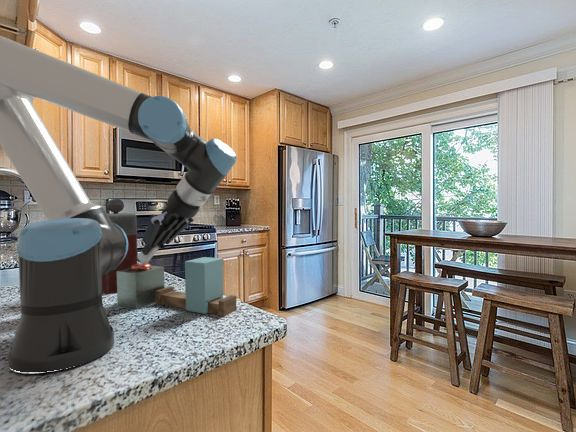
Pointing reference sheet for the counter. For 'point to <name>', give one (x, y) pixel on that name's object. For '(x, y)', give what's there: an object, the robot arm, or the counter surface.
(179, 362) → the counter surface
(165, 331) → the counter surface
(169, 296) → the rail
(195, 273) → the carriage
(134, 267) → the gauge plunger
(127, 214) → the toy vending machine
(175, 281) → the counter surface
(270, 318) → the counter surface
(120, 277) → the grey button housing
